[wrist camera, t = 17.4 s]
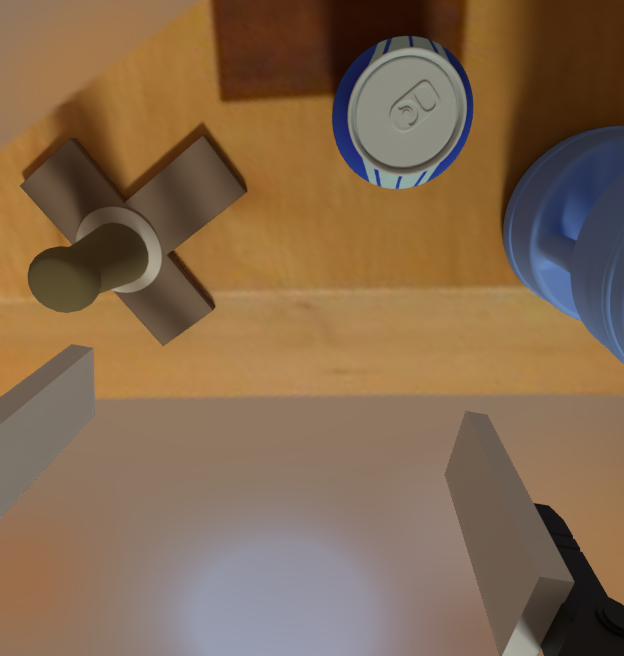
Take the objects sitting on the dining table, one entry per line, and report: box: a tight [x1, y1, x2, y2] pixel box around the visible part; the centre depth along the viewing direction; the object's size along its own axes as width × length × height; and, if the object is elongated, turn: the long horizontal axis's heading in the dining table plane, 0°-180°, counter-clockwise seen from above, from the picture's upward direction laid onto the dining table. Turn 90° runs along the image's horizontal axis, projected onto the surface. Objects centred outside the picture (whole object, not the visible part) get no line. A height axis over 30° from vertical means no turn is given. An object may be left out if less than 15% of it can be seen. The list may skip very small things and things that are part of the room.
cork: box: [28, 222, 149, 313], centre depth 40 cm, size 6×6×11 cm
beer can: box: [332, 36, 473, 189], centre depth 33 cm, size 8×8×16 cm
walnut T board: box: [20, 136, 247, 346], centre depth 45 cm, size 18×20×1 cm
